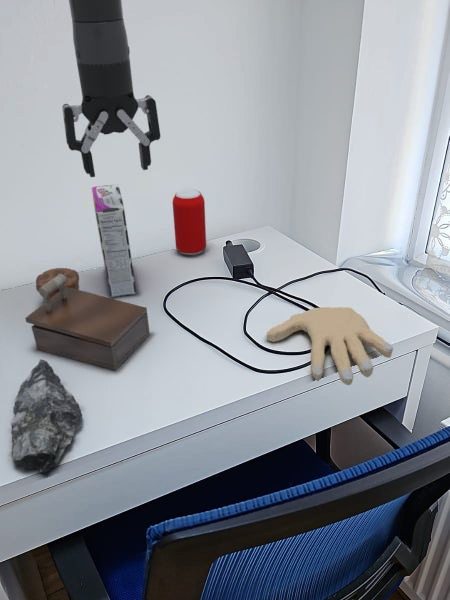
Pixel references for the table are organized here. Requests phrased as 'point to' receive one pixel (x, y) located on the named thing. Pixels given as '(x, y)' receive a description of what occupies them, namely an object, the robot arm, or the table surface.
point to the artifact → (48, 275)
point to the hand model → (335, 339)
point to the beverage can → (189, 221)
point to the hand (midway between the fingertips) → (118, 172)
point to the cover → (84, 313)
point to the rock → (43, 419)
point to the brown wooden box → (92, 345)
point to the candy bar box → (114, 239)
